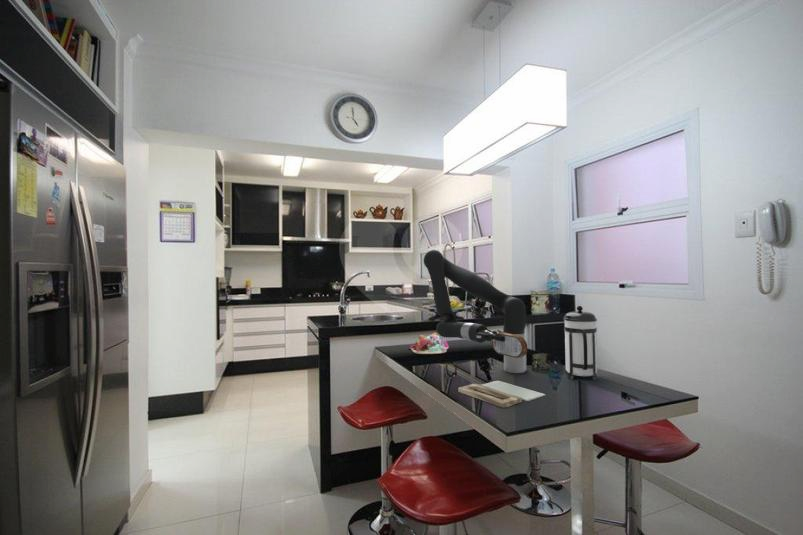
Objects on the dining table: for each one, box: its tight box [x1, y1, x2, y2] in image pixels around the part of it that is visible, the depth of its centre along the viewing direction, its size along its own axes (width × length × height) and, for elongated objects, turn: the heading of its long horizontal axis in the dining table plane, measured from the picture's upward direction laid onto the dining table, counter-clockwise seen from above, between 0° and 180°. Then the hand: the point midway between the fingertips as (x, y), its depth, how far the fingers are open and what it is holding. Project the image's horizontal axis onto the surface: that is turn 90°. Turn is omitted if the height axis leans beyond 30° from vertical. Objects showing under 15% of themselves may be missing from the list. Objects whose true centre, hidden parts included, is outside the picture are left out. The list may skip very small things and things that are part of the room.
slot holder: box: [457, 382, 522, 409], centre depth 134 cm, size 9×21×2 cm, turn 35°
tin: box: [491, 331, 528, 358], centre depth 142 cm, size 15×3×8 cm, turn 35°
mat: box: [481, 380, 546, 402], centre depth 141 cm, size 10×22×1 cm, turn 35°
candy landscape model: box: [408, 332, 450, 355], centre depth 220 cm, size 25×24×9 cm
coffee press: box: [563, 305, 599, 382], centre depth 157 cm, size 17×16×30 cm
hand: (506, 338), depth 142 cm, fingers closed on tin, 2 cm apart
